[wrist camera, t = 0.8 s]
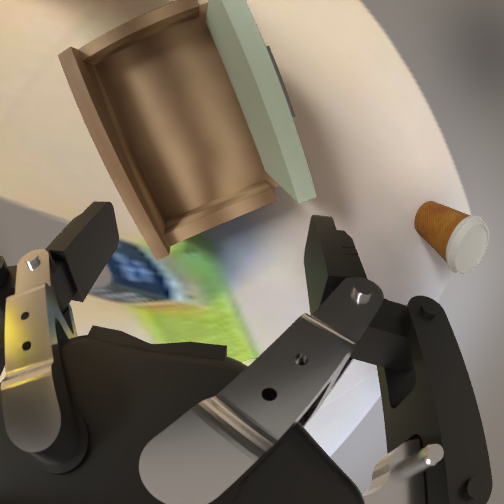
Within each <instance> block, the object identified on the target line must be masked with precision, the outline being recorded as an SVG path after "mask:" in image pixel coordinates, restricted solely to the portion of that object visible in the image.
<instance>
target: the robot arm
mask: <svg viewBox="0 0 504 504" xmlns="http://www.w3.org/2000/svg"><path fill="white" fill-rule="evenodd" d="M118 242H119V234H118V229H117V224H116V219H115V213H114V208H113V205H112V203H111V202H93V203H92V204H91V205H90V206H89V207H88V208H87V209H86V210H85V211H84V212H83V213H82V214H80V215H79V216H77V217H76V218H74V219H73V220H72V221H71V222H70V223H69V224H68V225H67V227H65V228H64V230H62V233H60V234H59V235H58V236H57V237H56V238H55V239H54V240H53V241H52V242H51V244H50V245H49V246H48V247H47V248H46V249H45V250H44V249H38V250H34V251H31V252H29V253H27V254H26V255H24V256H23V257H22V258H21V259H20V261H19V262H18V265H17V266H10V267H7V265H6V263H5V260H4V258H3V257H2V256H0V375H1V373H2V371H3V368H4V366H5V369H6V376H5V379H4V380H2V382H1V383H0V504H486V503H487V501H488V500H489V497H490V495H491V491H492V475H491V468H490V462H489V456H488V450H487V445H486V440H485V435H484V430H483V426H482V421H481V417H480V413H479V410H478V406H477V402H476V399H475V395H474V392H473V388H472V385H471V381H470V378H469V375H468V372H467V369H466V366H465V363H464V360H463V357H462V354H461V352H460V349H459V346H458V343H457V341H456V338H455V336H454V333H453V330H452V328H451V326H450V323H449V321H448V318H447V316H446V314H445V312H444V310H443V308H442V307H441V306H440V304H438V303H437V302H436V301H434V300H433V299H431V298H429V297H425V296H415V297H413V298H411V299H410V301H409V303H408V305H407V306H406V305H402V304H399V303H395V302H392V301H389V300H386V299H384V295H383V292H382V290H381V289H380V288H379V287H378V286H377V285H376V284H375V283H374V282H372V281H370V280H368V279H367V277H366V274H365V272H364V269H363V266H362V263H361V261H360V258H359V256H358V253H357V250H356V249H355V245H354V243H353V240H352V238H351V237H350V236H349V235H348V234H347V233H346V232H345V231H341V230H336V227H335V224H334V221H333V218H332V217H329V216H319V215H312V217H311V221H310V226H309V231H308V237H307V242H306V247H305V254H304V266H305V274H306V281H307V289H308V297H309V305H310V313H311V316H310V315H308V314H306V313H305V314H302V315H301V316H300V317H299V318H298V319H297V320H296V321H295V322H294V323H293V324H292V325H291V326H290V327H289V328H288V329H287V330H286V331H285V332H284V333H283V334H282V335H281V336H280V337H279V338H278V339H277V340H276V341H275V342H273V343H272V344H271V345H270V346H269V347H268V348H267V349H266V350H265V351H264V352H263V353H262V354H261V355H260V356H259V357H258V358H257V359H256V360H255V361H253V362H252V363H251V364H250V365H249V366H247V365H245V364H243V363H241V362H239V361H237V360H235V359H232V358H229V357H227V346H224V345H214V344H205V343H196V342H181V343H167V344H150V343H147V342H145V341H142V340H140V339H138V338H136V337H133V336H131V335H129V334H127V333H124V332H122V331H118V330H113V329H108V328H103V327H98V326H92V328H91V330H90V332H89V334H88V335H84V336H77V332H76V327H75V323H74V318H73V313H72V309H71V306H70V304H69V303H70V301H71V300H75V301H80V302H83V301H84V299H85V298H86V296H87V294H88V293H89V291H90V289H91V288H92V286H93V284H94V283H95V281H96V280H97V278H98V276H99V275H100V273H101V272H102V270H103V269H104V267H105V265H106V264H107V262H108V261H109V259H110V258H111V256H112V255H113V253H114V252H115V250H116V249H117V246H118ZM353 359H356V360H360V361H363V362H367V363H371V364H374V365H377V370H378V376H379V383H380V390H381V397H382V404H383V412H384V421H385V430H386V441H387V452H388V454H387V455H385V456H384V457H382V458H381V459H380V460H379V461H378V462H377V464H376V465H375V467H374V470H373V475H372V482H371V484H370V486H369V488H368V490H367V491H366V492H365V493H364V494H363V495H362V494H361V492H360V491H359V489H358V487H357V486H356V485H355V484H354V483H353V481H352V480H351V479H350V478H349V477H348V476H347V475H346V474H345V473H344V472H343V471H342V470H341V469H340V468H339V466H338V465H336V463H335V462H334V461H333V460H332V459H331V458H330V457H329V456H328V455H327V453H326V452H325V451H324V450H323V449H322V448H321V447H320V446H319V444H318V443H317V442H316V441H315V440H314V439H313V438H312V437H311V435H310V434H309V433H308V432H307V431H306V430H305V428H304V427H305V425H306V424H307V423H308V422H309V420H310V419H311V418H312V417H313V415H314V414H315V413H316V411H317V410H318V409H319V407H320V406H321V405H322V403H323V402H324V400H325V399H326V397H327V396H328V395H329V393H330V392H331V390H332V389H333V388H334V386H335V385H336V384H337V382H338V381H339V379H340V378H341V377H342V375H343V374H344V372H345V371H346V369H347V368H348V367H349V365H350V364H351V362H352V361H353Z"/></svg>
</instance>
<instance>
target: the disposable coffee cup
mask: <svg viewBox="0 0 504 504" xmlns="http://www.w3.org/2000/svg"><path fill="white" fill-rule="evenodd" d="M415 228H416V230H417V232H418V233H419V234H420V235H421V236H422V237H423V238H424V239H425V240H426V241H427V242H428V243H429V244H430V245H431V246H432V247H433V248H434V249H435V250H436V251H437V252H438V253H439V255H440V256H441V257H442V258H443V259H444V260H445V261H446V262H447V264H448V266H449V268H450V269H451V271H453V272H458V273H461V274H464V273H468V272H470V271H471V270H472V269H474V268H475V267H476V266H477V265H478V263H479V262H480V261H481V259H482V258H483V256H484V254H485V252H486V249H487V246H488V242H489V229H488V227H487V225H486V224H485V223H484V221H483V219H482V218H480V217H478V216H470V215H467V214H465V213H462V212H460V211H457V210H455V209H452V208H449V207H447V206H444V205H441V204H438V203H435V202H433V201H429V202H426V203H424V204H423V205H422V206H421V207H420V208H419V210H418V212H417V214H416V217H415Z"/></svg>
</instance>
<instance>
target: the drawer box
mask: <svg viewBox="0 0 504 504" xmlns="http://www.w3.org/2000/svg"><path fill="white" fill-rule="evenodd" d="M207 9H208V3H205V4H202V5H199V3H198V1H197V0H178V1H176V2H173V3H170V4H168V5H165V6H163V7H160V8H158V9H155V10H153V11H151V12H148V13H146V14H144V15H142V16H139V17H137V18H135V19H133V20H131V21H129V22H127V23H125V24H123V25H121V26H119V27H117V28H115V29H113V30H111V31H109V32H107V33H105V34H104V35H102V36H100V37H98V38H97V39H95V40H93V41H91V42H90V43H88V44H86V45H85V46H83V47H81V48H80V49H75V48H73V47H69V48H68V49H66V50H65V51H63V52H62V53H60V54H59V55H58V57H59V60H60V62H61V65H62V68H63V71H64V73H65V76H66V78H67V81H68V83H69V86H70V89H71V91H72V93H73V96H74V98H75V101H76V103H77V106H78V108H79V110H80V113H81V115H82V117H83V119H84V122H85V124H86V126H87V128H88V131H89V133H90V135H91V137H92V139H93V142H94V144H95V146H96V148H97V150H98V152H99V154H100V156H101V158H102V160H103V162H104V165H105V167H106V169H107V171H108V173H109V175H110V177H111V179H112V181H113V182H114V184H115V186H116V188H117V190H118V192H119V194H120V196H121V198H122V200H123V202H124V203H125V205H126V207H127V209H128V211H129V213H130V215H131V216H132V218H133V220H134V222H135V224H136V225H137V227H138V229H139V231H140V232H141V234H142V236H143V238H144V239H145V241H146V243H147V245H148V246H149V248H150V250H151V251H152V253H153V255H154V257H155V258H156V260H159V259H161V258H163V257H165V256H168V255H169V252H170V246H172V245H174V244H176V243H179V242H181V241H183V240H185V239H188V238H190V237H192V236H194V235H197V234H199V233H201V232H204V231H206V230H208V229H211V228H213V227H215V226H218V225H220V224H222V223H225V222H227V221H229V220H232V219H234V218H237V217H239V216H241V215H244V214H246V213H249V212H251V211H253V210H256V209H258V208H261V207H263V206H266V205H268V204H271V203H273V202H276V201H277V200H276V197H275V194H274V191H273V189H274V188H276V187H279V186H280V185H279V184H278V183H277V182H276V181H275V180H274V179H273V178H272V177H271V176H270V175H269V174H268V173H267V172H266V171H265V169H264V167H263V164H262V161H261V158H260V156H259V153H258V150H257V148H256V145H255V142H254V140H253V137H252V134H251V132H250V129H249V127H248V124H247V121H246V119H245V116H244V114H243V111H242V109H241V106H240V104H239V101H238V98H237V96H236V93H235V91H234V88H233V86H232V84H231V81H230V79H229V76H228V74H227V71H226V69H225V66H224V64H223V62H222V59H221V57H220V54H219V52H218V50H217V47H216V45H215V43H214V40H213V38H212V36H211V33H210V31H209V29H208V26H207V24H206V16H207Z"/></svg>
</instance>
